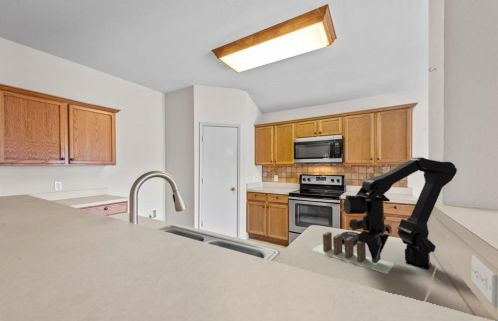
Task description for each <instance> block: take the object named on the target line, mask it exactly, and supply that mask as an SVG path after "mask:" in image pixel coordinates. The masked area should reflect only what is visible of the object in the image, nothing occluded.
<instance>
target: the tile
mask: <svg viewBox="0 0 498 321" xmlns="http://www.w3.org/2000/svg"><path fill="white" fill-rule="evenodd" d="M379 260H382V259H381V254H380V250H379V252H378V255H377V257H376V259H373V258H372V262H373V263H377V262H378V261H379Z"/></svg>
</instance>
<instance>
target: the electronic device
mask: <svg viewBox="0 0 498 321" xmlns="http://www.w3.org/2000/svg"><path fill="white" fill-rule="evenodd" d="M340 234H341V235H342V241H344V240H345V239H346V238H348V237H353V245H355V244H357V242H358V238H357V235H358V234H360V232H357V231H356V232H355V231H343V232H341V233H340Z"/></svg>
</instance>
